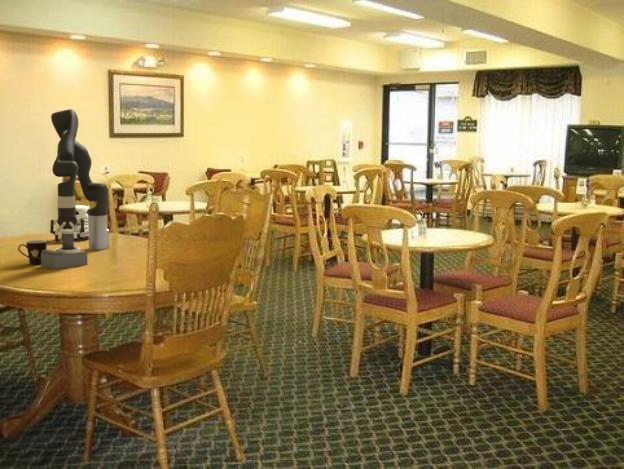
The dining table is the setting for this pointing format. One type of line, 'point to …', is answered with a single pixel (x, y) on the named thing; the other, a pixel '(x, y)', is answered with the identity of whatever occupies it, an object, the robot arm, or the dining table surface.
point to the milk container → (80, 214)
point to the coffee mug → (34, 250)
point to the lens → (67, 240)
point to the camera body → (63, 258)
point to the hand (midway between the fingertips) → (67, 242)
